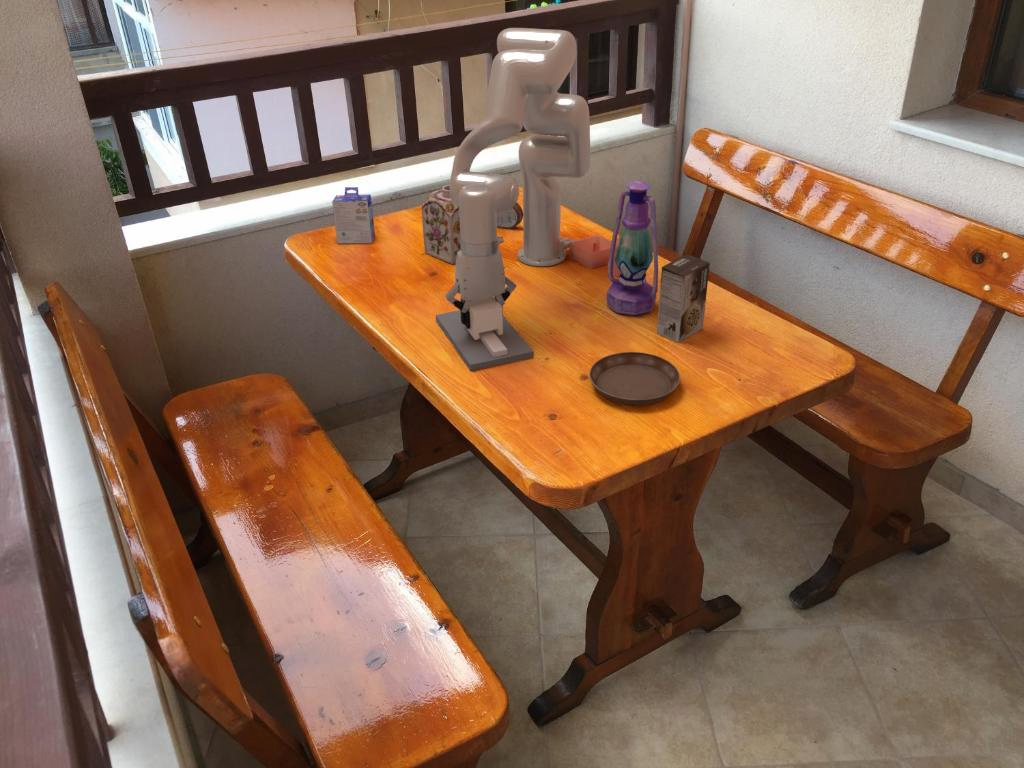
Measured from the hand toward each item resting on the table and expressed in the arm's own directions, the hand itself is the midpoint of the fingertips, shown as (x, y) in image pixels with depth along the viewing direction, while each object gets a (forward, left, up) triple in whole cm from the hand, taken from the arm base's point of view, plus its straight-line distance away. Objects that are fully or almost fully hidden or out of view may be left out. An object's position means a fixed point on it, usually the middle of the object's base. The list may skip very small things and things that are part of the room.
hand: (482, 322), depth 186 cm
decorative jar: (-9, -47, -4) cm, 48 cm away
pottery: (-42, -24, -4) cm, 49 cm away
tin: (-26, -60, -4) cm, 66 cm away
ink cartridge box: (+13, -66, -4) cm, 67 cm away
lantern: (-37, -1, -4) cm, 37 cm away
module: (0, 0, -2) cm, 2 cm away
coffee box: (-41, +14, -4) cm, 44 cm away
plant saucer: (-21, +30, -4) cm, 37 cm away
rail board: (0, 0, -4) cm, 4 cm away
